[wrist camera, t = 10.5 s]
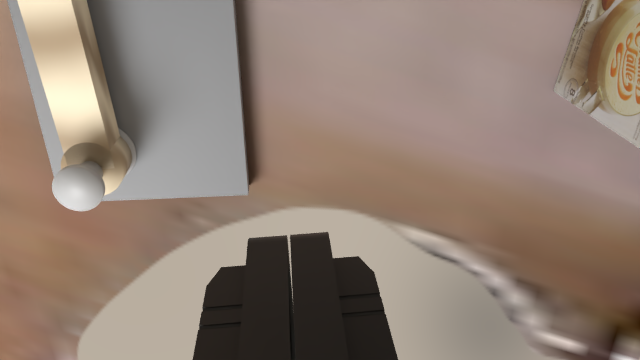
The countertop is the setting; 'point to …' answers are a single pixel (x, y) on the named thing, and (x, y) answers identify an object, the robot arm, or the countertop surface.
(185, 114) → the hinge plate
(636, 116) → the coffee box
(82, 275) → the countertop surface
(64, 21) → the link
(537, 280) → the countertop surface
